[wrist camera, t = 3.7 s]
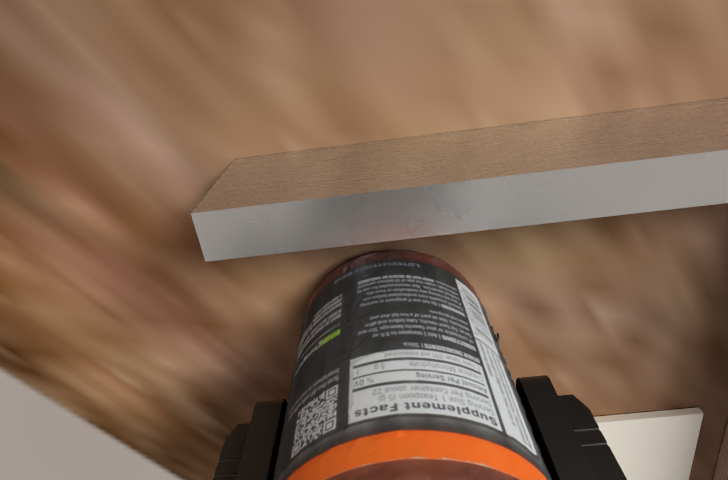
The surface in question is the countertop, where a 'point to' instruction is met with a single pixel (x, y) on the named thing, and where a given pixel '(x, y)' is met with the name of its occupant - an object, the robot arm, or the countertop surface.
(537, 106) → the countertop surface
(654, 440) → the pad
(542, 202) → the grey angled wall frame
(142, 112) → the countertop surface
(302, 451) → the supplement bottle
